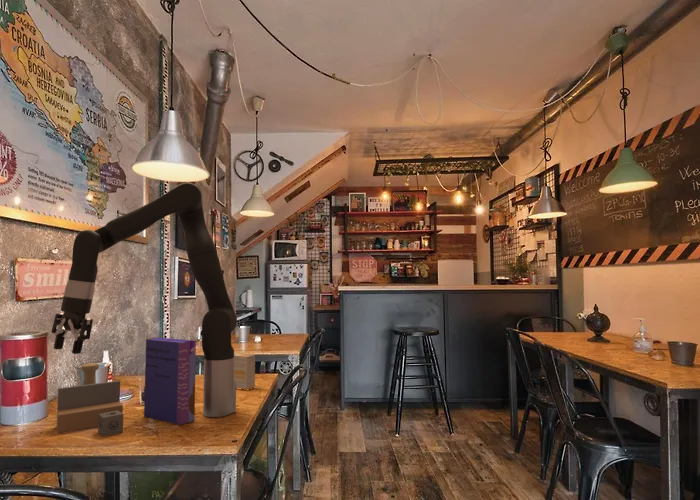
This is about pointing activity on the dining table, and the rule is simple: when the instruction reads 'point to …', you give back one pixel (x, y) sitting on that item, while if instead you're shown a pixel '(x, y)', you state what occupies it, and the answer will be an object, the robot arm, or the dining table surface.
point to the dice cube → (110, 423)
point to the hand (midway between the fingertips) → (66, 351)
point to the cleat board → (86, 405)
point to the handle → (89, 373)
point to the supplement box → (244, 371)
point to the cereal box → (170, 380)
